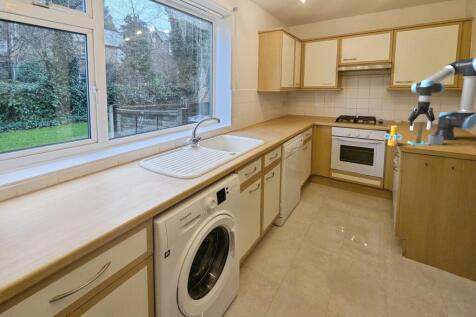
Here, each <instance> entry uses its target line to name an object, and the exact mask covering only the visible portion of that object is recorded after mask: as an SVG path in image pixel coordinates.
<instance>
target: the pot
mask: <svg viewBox="0 0 476 317" xmlns="http://www.w3.org/2000/svg"><path fill="white" fill-rule="evenodd" d="M443 138H444V136H440V135H434V134H428V139H427V143H429V145H431V146H443V144H444V139H443Z"/></svg>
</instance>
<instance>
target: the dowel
mask: <svg viewBox="0 0 476 317" xmlns="http://www.w3.org/2000/svg"><path fill="white" fill-rule="evenodd" d="M423 128H424V121H418V125H417V132H416V137H415V138H416V139H415V141H416V143H420V142H421V141H422V140H421V139H422V135H423V134H422V133H423Z"/></svg>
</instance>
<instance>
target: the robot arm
mask: <svg viewBox="0 0 476 317" xmlns="http://www.w3.org/2000/svg"><path fill="white" fill-rule="evenodd" d="M457 75H461V77H462V78H463V85H462V92H461V97H460V104H459V109H457V111H456V110H455V111H442V112H440V113H438V114H439V116H438V120H437V126H436V130H435V131H434V133H433V135H440V136H444V138H443V141H444V140H446V141H449V140H456V134H455V131H454V129H455V128H457V129H463V130H465V129H467V130H470V129H472V128H474V127H475V126H476V111H475V110H474V106H475V102H476V57H473V58H472V57H471V58H463V59H462V58H461V59H458V60H455V61H453V62H451V63H449V64H447V65H445V66H444V67H443V68H442V69H441V70H439V71H438V72H435V73H434V74H432V75H431V76H429V77H428V78H426V79H423V80H421V82H415V83H413V84H412V85H411V87H410V90H411V92H412V93H415V94H418V102H417V107H416V108H415V107H414V108H413V109H412V112H411V113H410V115H409V117H408V118H407V121H408V122H409V126H410V128H409V130H410V131H414V127H415V120H416V119H418V117H419V116H421V115H425V117H426V119H427V120H428V121H427V122H426V123H427V124H426V130H428V131H430V130H431V127H432V124H433V122H435V120H436V118H435V114H434V108H433V107H431V100H432V94H441V93H443V92H444V91H445V90H446V84H445V83H443V81H444V80H445V79H448V78H451V77H453V76H457Z"/></svg>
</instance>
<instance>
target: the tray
mask: <svg viewBox="0 0 476 317" xmlns="http://www.w3.org/2000/svg"><path fill="white" fill-rule="evenodd" d="M406 142H407V144H409V145H410V146H412V147H417V146H430V144H429V143H428V142H426V141H423V140H421V142H420V143H416V140H407V141H406Z"/></svg>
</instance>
